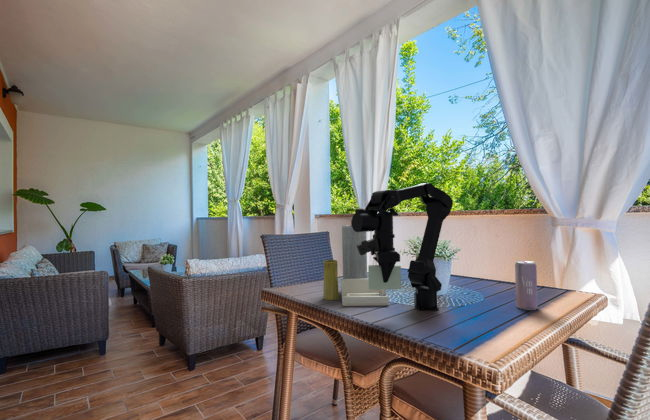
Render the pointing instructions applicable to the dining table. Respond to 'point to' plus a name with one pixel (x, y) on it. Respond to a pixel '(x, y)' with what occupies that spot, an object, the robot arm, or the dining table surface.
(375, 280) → the door
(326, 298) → the vase
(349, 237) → the planter
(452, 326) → the dining table surface
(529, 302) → the beverage can
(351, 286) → the cabinet
